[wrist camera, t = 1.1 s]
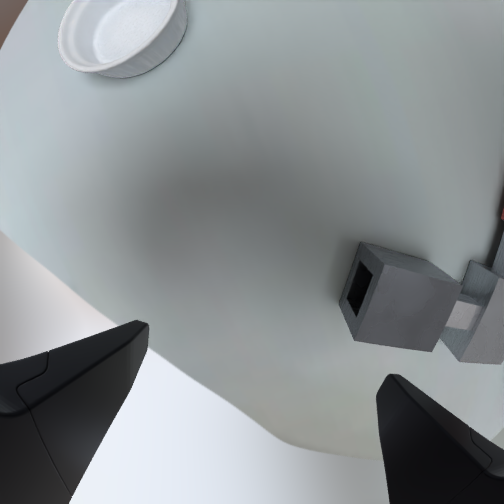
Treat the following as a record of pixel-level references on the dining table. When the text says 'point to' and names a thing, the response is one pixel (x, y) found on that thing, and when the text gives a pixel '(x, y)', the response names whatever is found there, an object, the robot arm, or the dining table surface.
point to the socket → (397, 299)
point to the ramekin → (120, 35)
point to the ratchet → (479, 314)
